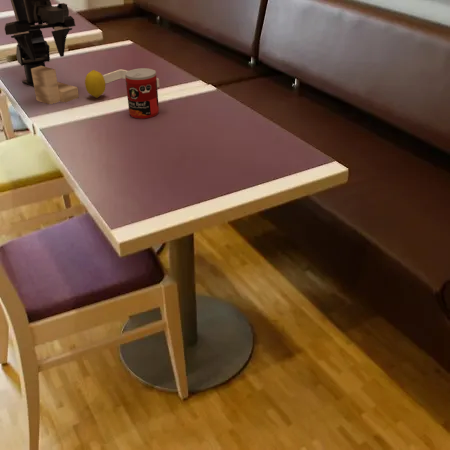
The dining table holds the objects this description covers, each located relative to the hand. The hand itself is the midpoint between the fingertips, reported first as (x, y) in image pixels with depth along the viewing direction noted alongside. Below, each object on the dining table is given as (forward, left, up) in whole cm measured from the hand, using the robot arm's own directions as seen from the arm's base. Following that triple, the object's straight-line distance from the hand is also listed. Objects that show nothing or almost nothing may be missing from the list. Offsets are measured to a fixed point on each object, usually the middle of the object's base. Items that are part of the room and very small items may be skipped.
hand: (48, 58), depth 165 cm
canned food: (+27, +8, -12) cm, 30 cm away
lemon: (+7, +9, -12) cm, 17 cm away
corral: (+7, +20, -12) cm, 24 cm away
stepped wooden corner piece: (-2, +2, -12) cm, 12 cm away
